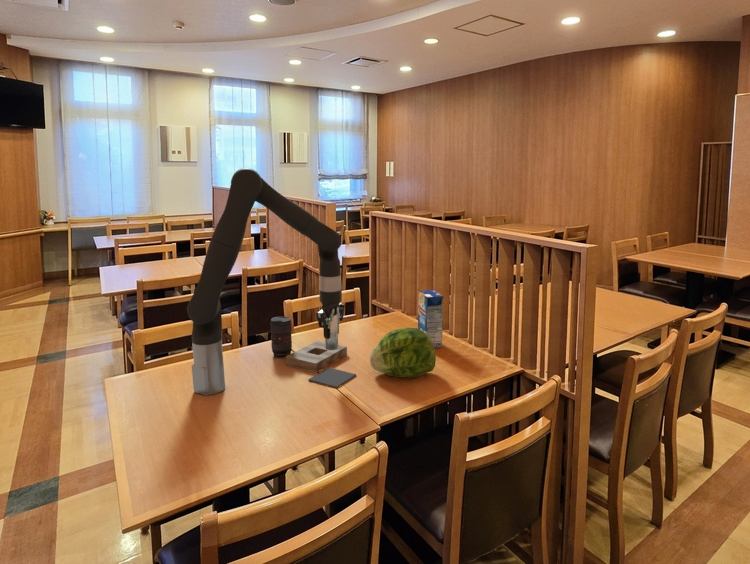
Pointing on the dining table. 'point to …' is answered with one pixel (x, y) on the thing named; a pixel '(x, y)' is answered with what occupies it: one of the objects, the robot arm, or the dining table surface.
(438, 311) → the beverage box
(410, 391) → the dining table surface
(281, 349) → the camera lens
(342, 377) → the mat
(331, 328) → the canister
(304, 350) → the holder
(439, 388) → the dining table surface
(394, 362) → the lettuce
